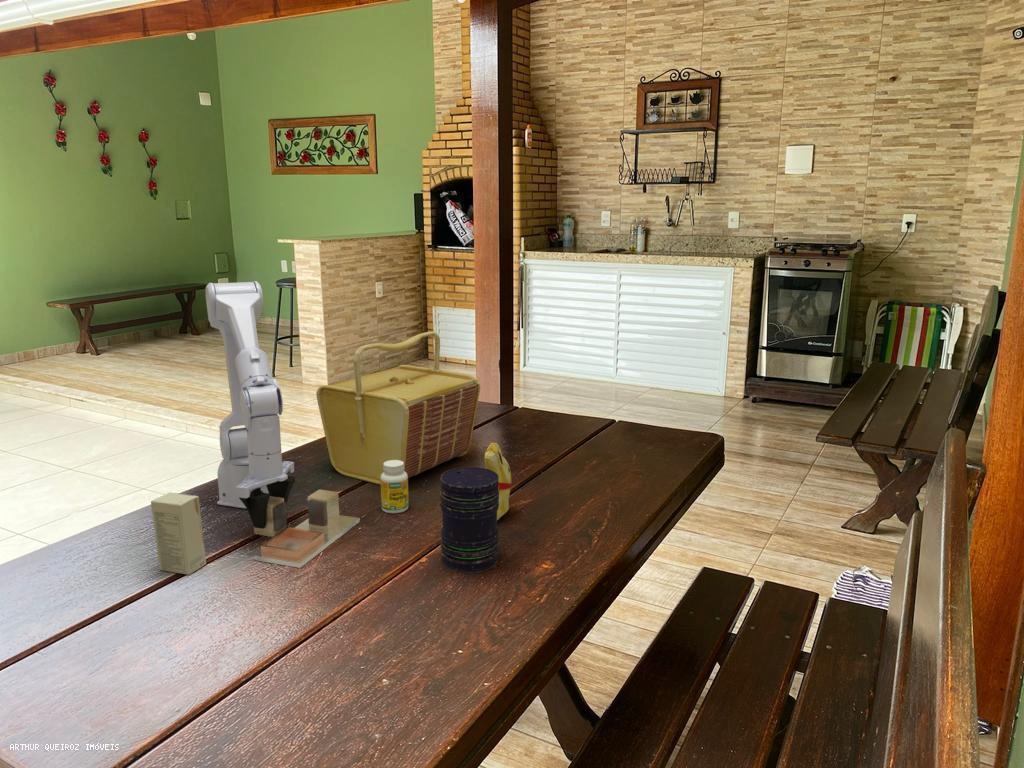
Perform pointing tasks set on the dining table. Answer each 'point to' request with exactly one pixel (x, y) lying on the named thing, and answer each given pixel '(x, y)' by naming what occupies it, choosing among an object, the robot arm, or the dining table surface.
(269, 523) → the block
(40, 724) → the dining table surface
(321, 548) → the cream holder stand
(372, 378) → the picnic basket
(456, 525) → the storage jar
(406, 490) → the supplement bottle
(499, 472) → the chocolate bunny
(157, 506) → the skincare box
